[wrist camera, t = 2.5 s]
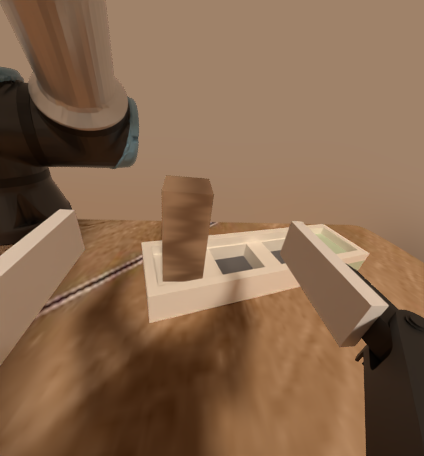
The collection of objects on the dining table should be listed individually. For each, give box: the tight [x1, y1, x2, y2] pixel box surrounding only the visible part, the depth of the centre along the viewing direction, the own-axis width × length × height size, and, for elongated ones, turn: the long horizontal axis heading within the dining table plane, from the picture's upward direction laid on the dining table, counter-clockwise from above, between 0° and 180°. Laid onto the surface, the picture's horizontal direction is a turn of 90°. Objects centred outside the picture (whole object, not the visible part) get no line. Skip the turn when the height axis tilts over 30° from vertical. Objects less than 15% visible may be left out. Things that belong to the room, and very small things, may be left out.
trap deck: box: [142, 224, 369, 323], centre depth 32 cm, size 36×10×4 cm, turn 111°
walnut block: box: [162, 175, 214, 282], centre depth 24 cm, size 5×5×12 cm
